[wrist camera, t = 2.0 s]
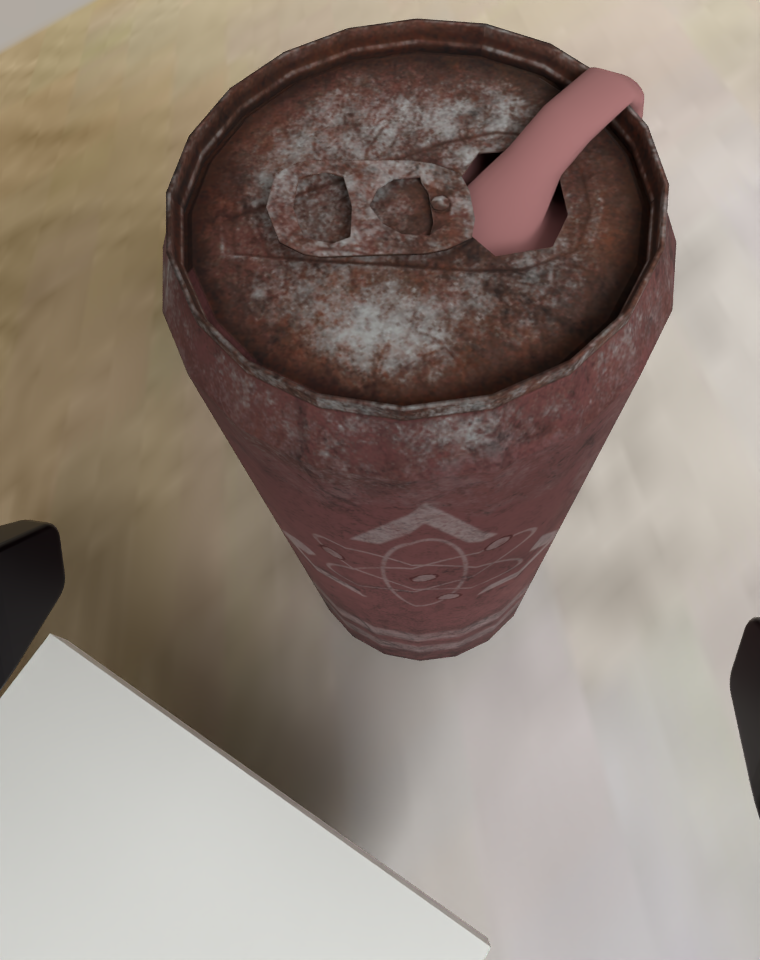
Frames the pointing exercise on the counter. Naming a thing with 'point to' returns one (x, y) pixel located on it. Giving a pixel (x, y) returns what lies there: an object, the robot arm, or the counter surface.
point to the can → (419, 307)
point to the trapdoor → (176, 843)
